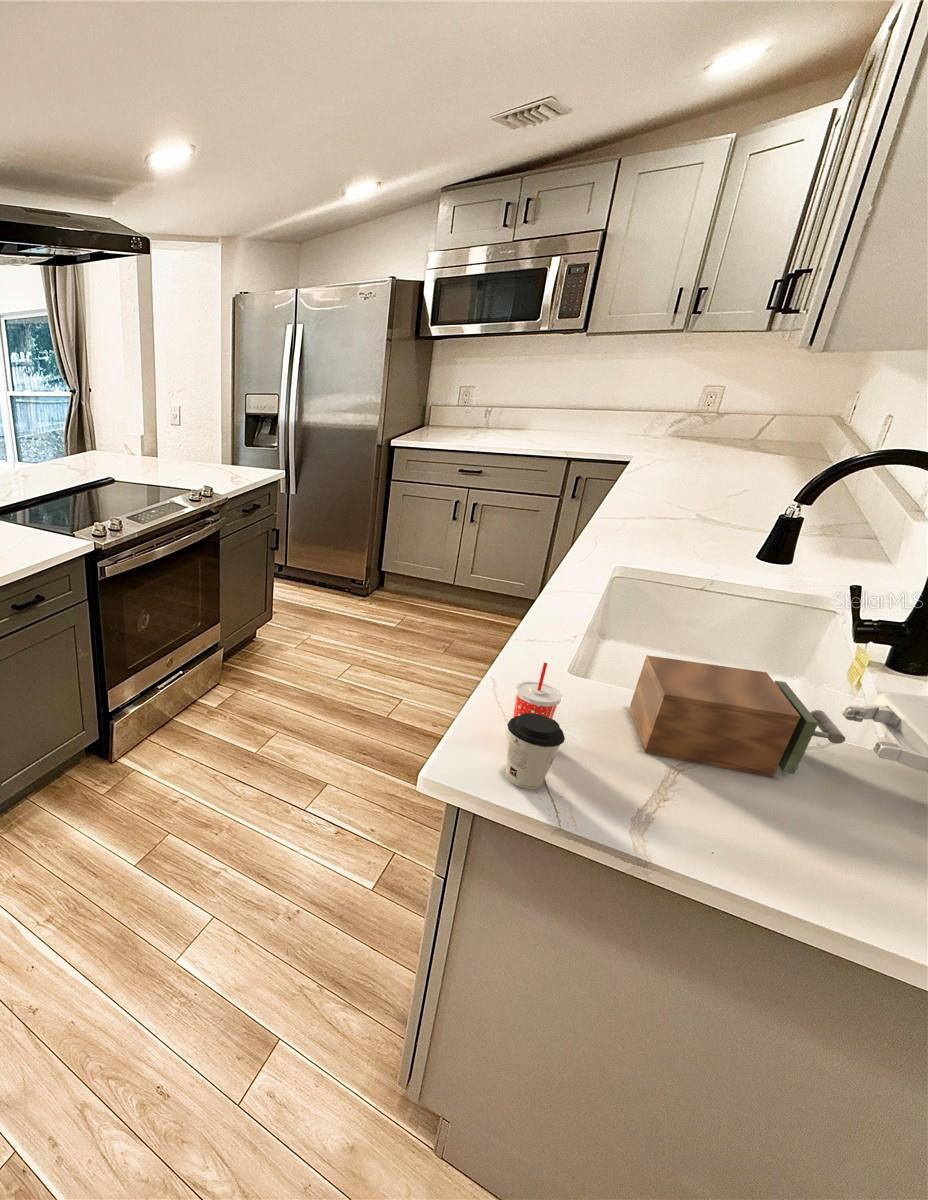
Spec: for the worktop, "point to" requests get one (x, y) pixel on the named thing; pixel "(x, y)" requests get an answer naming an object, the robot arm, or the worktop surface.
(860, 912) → the worktop surface
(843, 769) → the worktop surface
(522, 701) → the beverage cup
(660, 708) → the cabinet
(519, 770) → the coffee cup
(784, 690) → the drawer
